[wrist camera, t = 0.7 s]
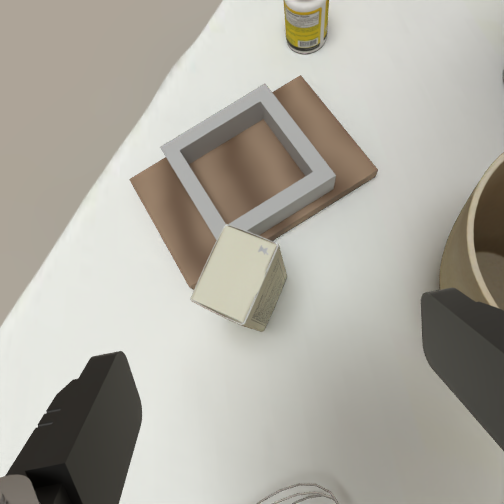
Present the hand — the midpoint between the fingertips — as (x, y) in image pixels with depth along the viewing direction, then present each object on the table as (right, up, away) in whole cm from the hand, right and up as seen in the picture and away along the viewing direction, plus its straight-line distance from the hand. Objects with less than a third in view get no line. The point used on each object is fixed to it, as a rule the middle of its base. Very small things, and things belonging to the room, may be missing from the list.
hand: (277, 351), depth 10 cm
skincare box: (0, -2, +28) cm, 28 cm away
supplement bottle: (+6, +28, +35) cm, 45 cm away
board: (-1, +10, +31) cm, 33 cm away
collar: (-1, +11, +29) cm, 31 cm away
